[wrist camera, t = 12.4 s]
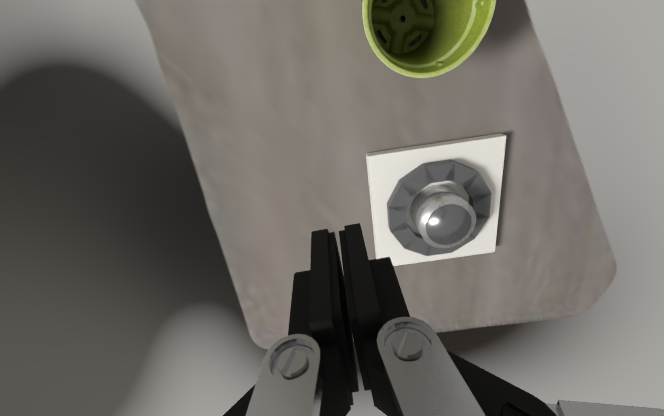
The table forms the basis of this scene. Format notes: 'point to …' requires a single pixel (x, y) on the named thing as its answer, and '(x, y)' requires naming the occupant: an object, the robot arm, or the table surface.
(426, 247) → the mounted pipe fitting
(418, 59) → the plant pot
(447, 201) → the cap
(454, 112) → the table surface
